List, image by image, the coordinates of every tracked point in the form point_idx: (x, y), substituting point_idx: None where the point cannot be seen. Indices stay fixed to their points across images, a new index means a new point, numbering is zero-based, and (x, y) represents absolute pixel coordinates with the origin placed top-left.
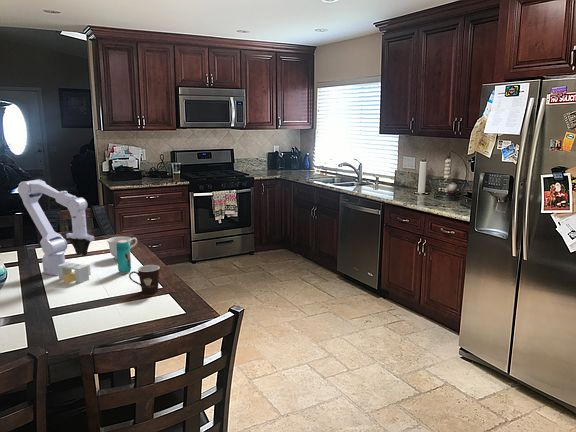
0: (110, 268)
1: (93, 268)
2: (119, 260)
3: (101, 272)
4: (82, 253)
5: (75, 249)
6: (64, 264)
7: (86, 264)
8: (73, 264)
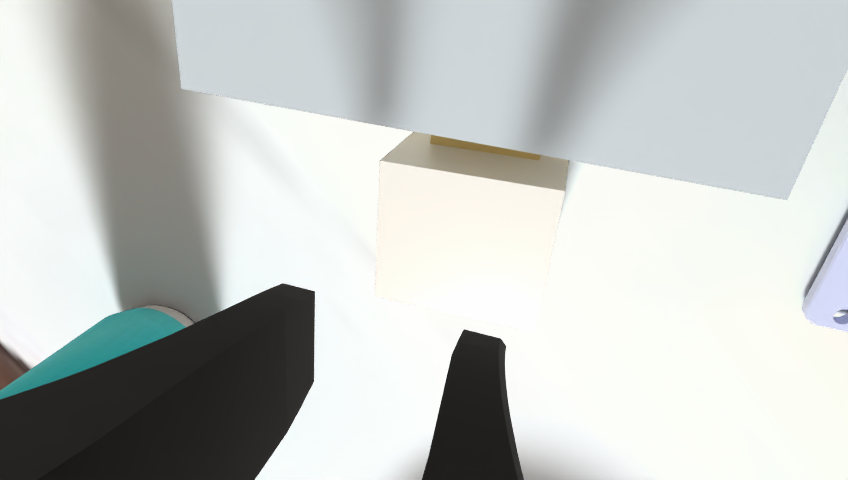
0: (366, 425)
1: (539, 418)
2: None
3: (364, 313)
4: (246, 307)
5: (476, 442)
6: (739, 8)
7: (419, 283)
8: (500, 77)
